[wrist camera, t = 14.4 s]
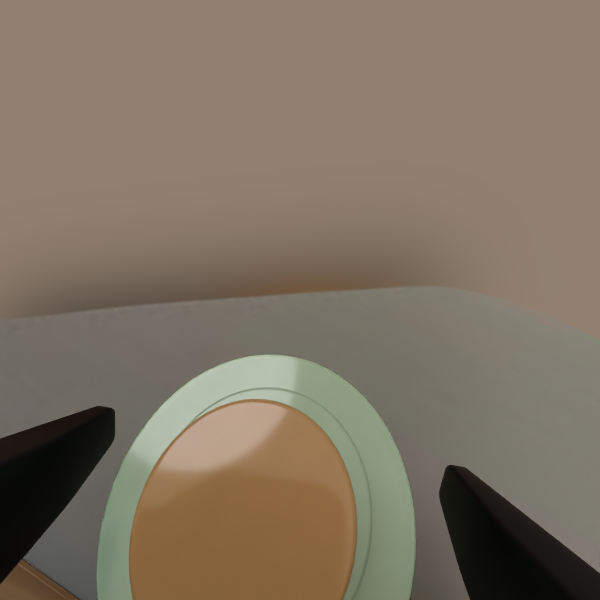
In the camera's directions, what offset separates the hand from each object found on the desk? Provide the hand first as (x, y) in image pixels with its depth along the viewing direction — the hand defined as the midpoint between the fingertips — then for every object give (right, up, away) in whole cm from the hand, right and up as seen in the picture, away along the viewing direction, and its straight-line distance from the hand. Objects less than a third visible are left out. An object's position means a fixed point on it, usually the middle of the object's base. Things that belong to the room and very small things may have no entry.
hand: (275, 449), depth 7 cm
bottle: (-1, -5, +6) cm, 8 cm away
